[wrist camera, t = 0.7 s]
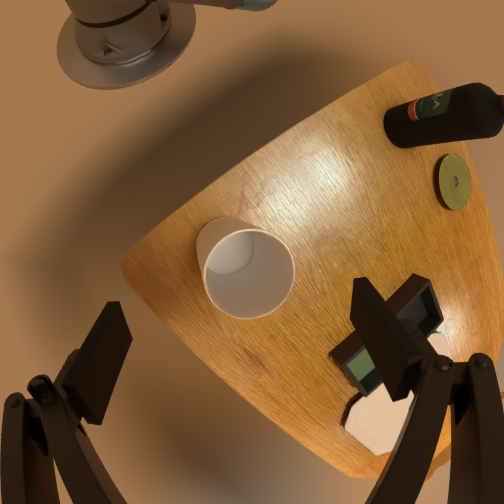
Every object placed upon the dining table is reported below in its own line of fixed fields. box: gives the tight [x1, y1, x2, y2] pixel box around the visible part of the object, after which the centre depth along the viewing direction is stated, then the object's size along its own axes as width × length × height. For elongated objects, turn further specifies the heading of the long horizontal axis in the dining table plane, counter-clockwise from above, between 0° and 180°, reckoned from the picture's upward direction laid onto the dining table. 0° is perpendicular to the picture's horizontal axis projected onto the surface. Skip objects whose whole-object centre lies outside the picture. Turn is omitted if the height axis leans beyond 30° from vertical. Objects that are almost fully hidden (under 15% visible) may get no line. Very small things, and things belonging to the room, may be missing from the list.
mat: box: [439, 153, 471, 211], centre depth 48 cm, size 11×11×2 cm
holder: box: [329, 274, 444, 398], centre depth 48 cm, size 11×21×5 cm, turn 127°
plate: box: [344, 332, 452, 455], centre depth 55 cm, size 29×29×2 cm
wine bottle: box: [384, 83, 504, 148], centre depth 30 cm, size 8×8×30 cm
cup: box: [196, 217, 295, 320], centre depth 34 cm, size 8×8×16 cm
